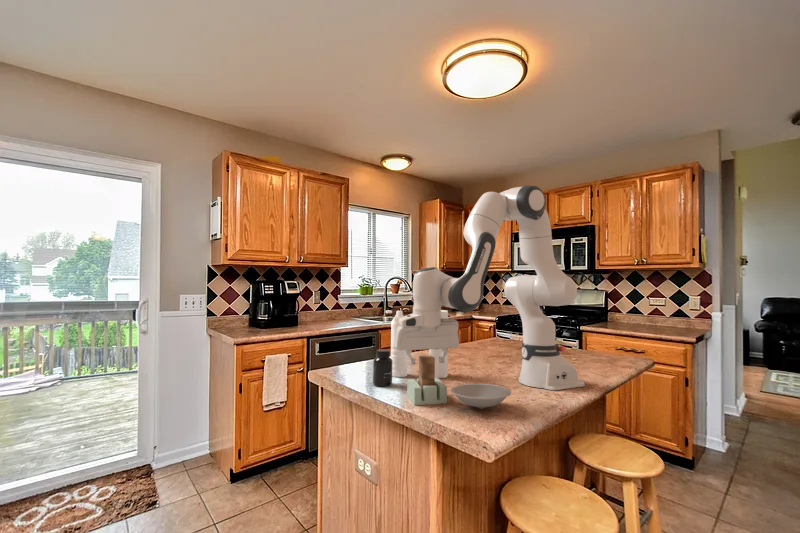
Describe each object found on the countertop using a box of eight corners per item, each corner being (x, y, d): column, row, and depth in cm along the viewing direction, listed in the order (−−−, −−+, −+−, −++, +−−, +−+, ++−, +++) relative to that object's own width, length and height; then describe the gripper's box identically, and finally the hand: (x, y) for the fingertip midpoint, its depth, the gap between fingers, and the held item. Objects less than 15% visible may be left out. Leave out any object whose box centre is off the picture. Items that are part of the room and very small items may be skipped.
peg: (430, 393, 119) (431, 355, 120) (434, 397, 115) (434, 358, 116) (418, 394, 118) (418, 355, 119) (421, 398, 114) (422, 358, 115)
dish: (497, 398, 118) (497, 382, 118) (521, 414, 104) (521, 396, 104) (444, 401, 115) (444, 385, 115) (461, 419, 101) (461, 400, 101)
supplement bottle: (389, 387, 128) (390, 352, 129) (370, 386, 130) (370, 351, 130) (394, 382, 135) (394, 348, 135) (375, 381, 136) (376, 348, 137)
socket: (436, 393, 123) (437, 377, 123) (446, 403, 113) (446, 386, 113) (407, 394, 121) (407, 379, 121) (414, 405, 111) (414, 388, 111)
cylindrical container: (448, 378, 141) (448, 311, 142) (429, 378, 141) (430, 311, 142) (446, 373, 148) (446, 310, 149) (428, 373, 148) (428, 309, 149)
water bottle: (404, 372, 149) (405, 309, 149) (409, 377, 142) (409, 311, 143) (383, 374, 146) (383, 309, 147) (387, 378, 140) (387, 311, 141)
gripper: (455, 316, 123) (455, 359, 123) (393, 318, 119) (393, 362, 119) (461, 319, 117) (462, 363, 116) (397, 321, 113) (397, 367, 113)
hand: (427, 363), depth 118 cm, fingers open, 8 cm apart
